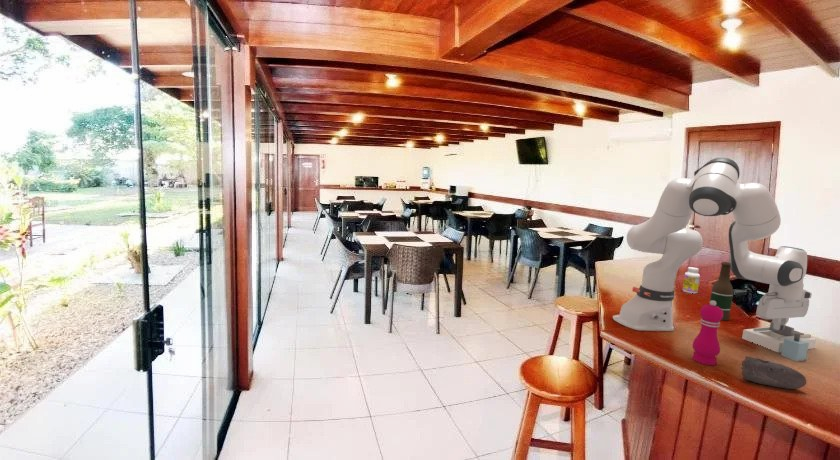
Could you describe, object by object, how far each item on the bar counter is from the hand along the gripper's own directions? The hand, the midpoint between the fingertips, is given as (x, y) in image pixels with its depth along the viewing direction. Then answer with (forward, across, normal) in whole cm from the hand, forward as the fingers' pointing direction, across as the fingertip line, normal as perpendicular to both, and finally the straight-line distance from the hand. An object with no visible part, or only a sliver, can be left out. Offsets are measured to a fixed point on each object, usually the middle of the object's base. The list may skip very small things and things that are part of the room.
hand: (778, 329), depth 147 cm
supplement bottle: (+6, +30, +61) cm, 68 cm away
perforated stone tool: (+6, -36, -22) cm, 42 cm away
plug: (+6, -7, -10) cm, 13 cm away
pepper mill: (+6, -41, -6) cm, 42 cm away
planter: (+5, +128, +107) cm, 167 cm away
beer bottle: (+6, +6, +26) cm, 28 cm away
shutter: (+2, +5, 0) cm, 5 cm away
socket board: (+6, +1, 0) cm, 6 cm away
